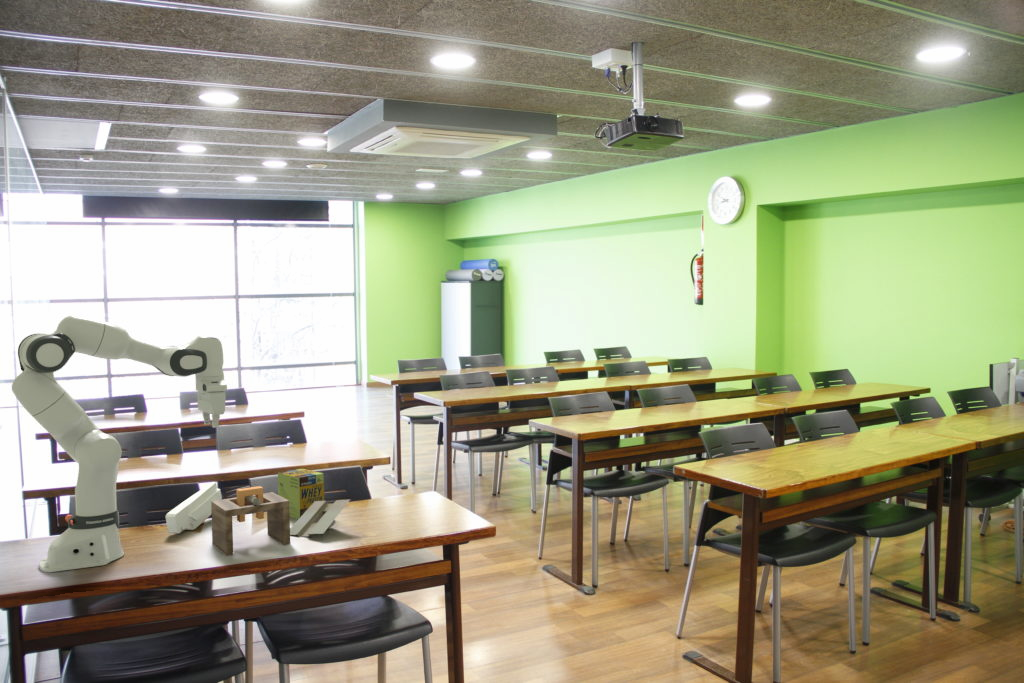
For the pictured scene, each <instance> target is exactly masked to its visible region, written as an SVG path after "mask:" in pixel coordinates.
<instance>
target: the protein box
mask: <svg viewBox="0 0 1024 683" xmlns="http://www.w3.org/2000/svg"><path fill="white" fill-rule="evenodd" d="M324 478H325V477H324V473H323V472H319V471H314V470H309V469H305V468H299V469H292V470H291V469H290V470H285V471H280V472H279V471H278V472H277V492H278V494H277V495H279V496H281V497H283V498H285V499H287V500H289V511H290V518H291V519H295V520H298V519H299V518H300V517H301V516H302V515H303V514H304V513H305V511H306V510H307V509H308V508H309V507H310V506H311V505H312V504H313V503H314V502H315V501H325V486H324V485H325V482H324V480H325V479H324Z"/></svg>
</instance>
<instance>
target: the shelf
mask: <svg viewBox="0 0 1024 683" xmlns="http://www.w3.org/2000/svg"><path fill="white" fill-rule="evenodd" d="M244 499H245V504H250V503H252V504H250V505H245V506H242V507H239V506H238V505H237V496H236V497H231V498H222V500H215V501H211V513H212V514H211V536H212V537H211V539H212V541H211V542H212V544H211V545H213V546H214V547H216V548H217V549H218V550H219V551H220V552H222V553H223V554H224V555H225V556H226V557H228V556H233V555H234V535H233V534H234V531H233V529H234V528H233V517H234V516H236V517H237V515H242V514H245V515H247V514H253V513H256V512H261V511H265V512H266V516H267V517H266V518H267V519H266V520H267V521H266V522H267V527H266V528H267V535H268V536H270V537H272V538H273V539H274V540H276V541H277V542H279V543H280V544H282V545H284V546H286V545H291V535H290V528H291V521H290V520H291V517H290V511H289V500H287V499H285V498H283V497H281V496H279V495H278V494H277V493H276V492H273V491H271V492H263V503H262V504H261V500H260V499H258V498H256V497H255V495H252V496H245V497H244Z"/></svg>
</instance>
